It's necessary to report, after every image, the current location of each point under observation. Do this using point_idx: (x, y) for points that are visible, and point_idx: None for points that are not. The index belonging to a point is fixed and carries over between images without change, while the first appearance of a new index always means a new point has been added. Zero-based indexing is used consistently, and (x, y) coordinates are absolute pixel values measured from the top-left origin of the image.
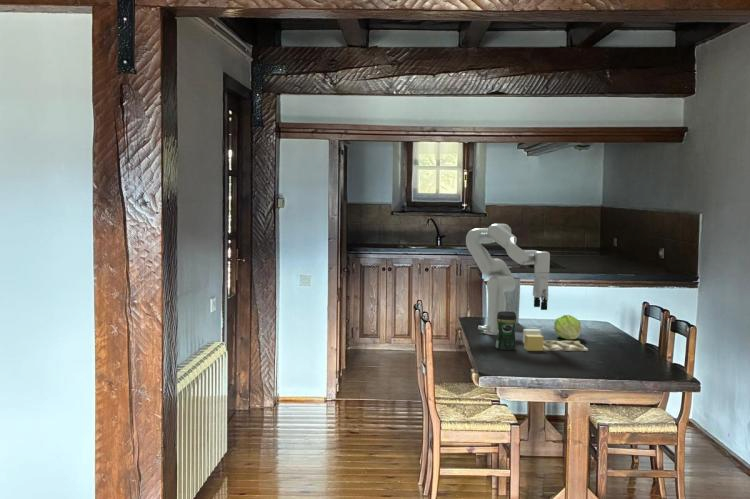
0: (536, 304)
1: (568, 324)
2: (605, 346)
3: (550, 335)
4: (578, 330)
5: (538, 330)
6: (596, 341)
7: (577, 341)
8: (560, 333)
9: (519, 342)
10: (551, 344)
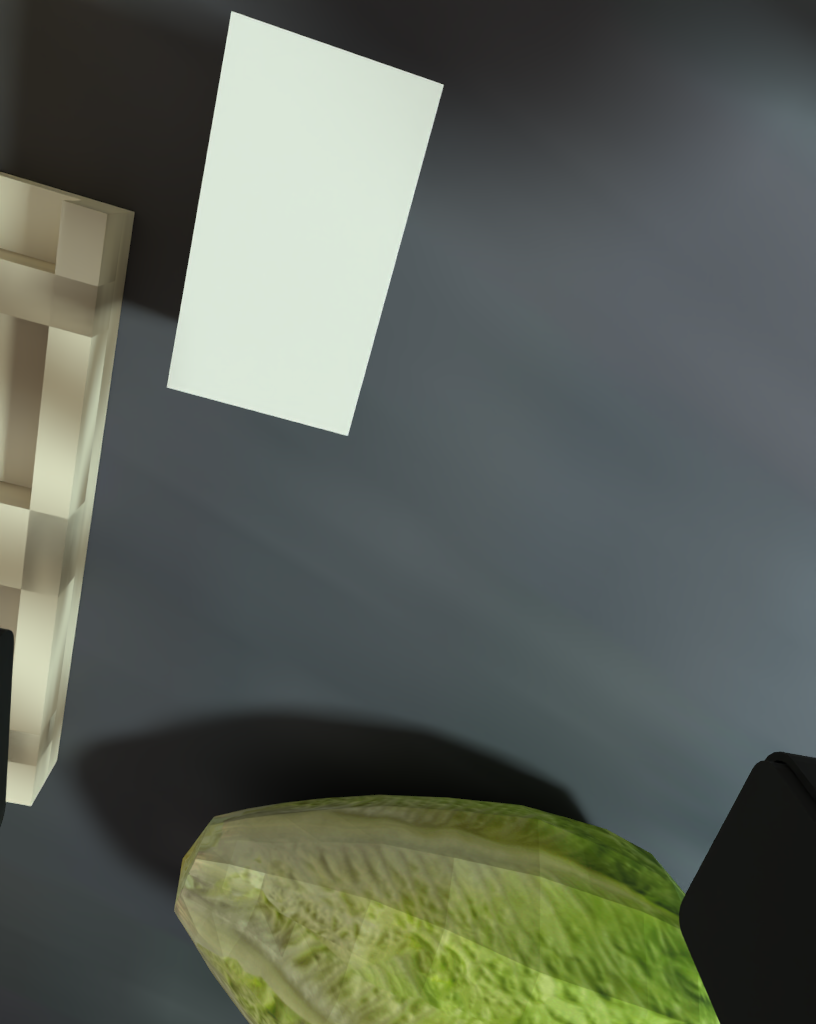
0: (781, 899)
1: (350, 994)
2: (6, 972)
3: (701, 786)
4: (222, 984)
5: (212, 351)
6: None
7: None
8: (424, 806)
9: (428, 43)
10: (24, 408)
